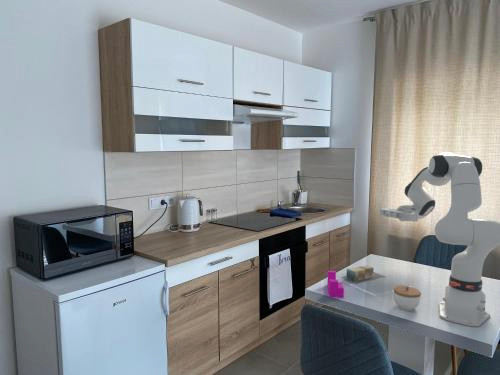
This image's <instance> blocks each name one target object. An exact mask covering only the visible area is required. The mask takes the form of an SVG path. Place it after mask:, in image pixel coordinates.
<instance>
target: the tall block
mask: <svg viewBox="0 0 500 375" xmlns="http://www.w3.org/2000/svg"><path fill="white" fill-rule="evenodd" d="M373 272H374V267H372V266H370V265H366V264H365V265H361V266H356V267H351V268H346V275H345V276H346V279H349V280H351V281H358V280H362V279H367V278H371V277H373Z"/></svg>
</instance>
